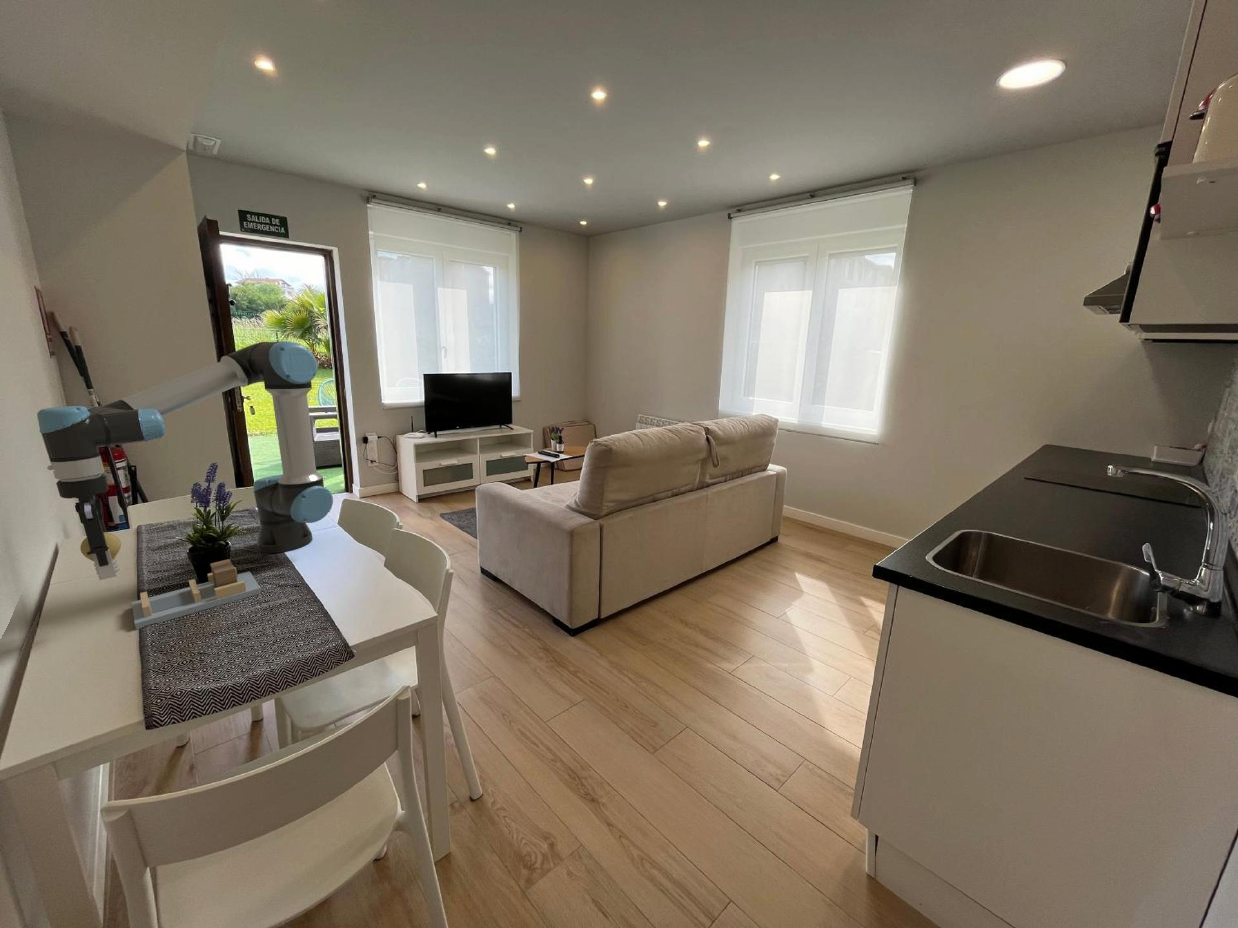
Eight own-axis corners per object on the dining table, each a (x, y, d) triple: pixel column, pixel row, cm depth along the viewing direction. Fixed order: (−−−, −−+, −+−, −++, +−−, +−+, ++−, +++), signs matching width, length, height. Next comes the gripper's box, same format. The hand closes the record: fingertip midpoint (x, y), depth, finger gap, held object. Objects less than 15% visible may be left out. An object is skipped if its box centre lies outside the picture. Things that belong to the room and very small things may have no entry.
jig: (133, 607, 123) (129, 592, 122) (250, 576, 139) (248, 563, 138) (136, 629, 113) (132, 613, 112) (261, 592, 130) (258, 579, 129)
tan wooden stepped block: (214, 584, 131) (210, 563, 130) (233, 579, 134) (229, 559, 132) (219, 594, 126) (215, 573, 124) (238, 589, 128) (234, 568, 127)
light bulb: (89, 582, 110) (76, 541, 107) (89, 573, 114) (76, 533, 111) (129, 573, 114) (117, 533, 112) (127, 564, 118) (116, 526, 116)
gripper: (58, 472, 112) (85, 564, 118) (51, 489, 99) (83, 593, 105) (105, 466, 117) (129, 555, 123) (104, 482, 104) (131, 581, 110)
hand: (107, 572), depth 114 cm, fingers closed on light bulb, 6 cm apart
